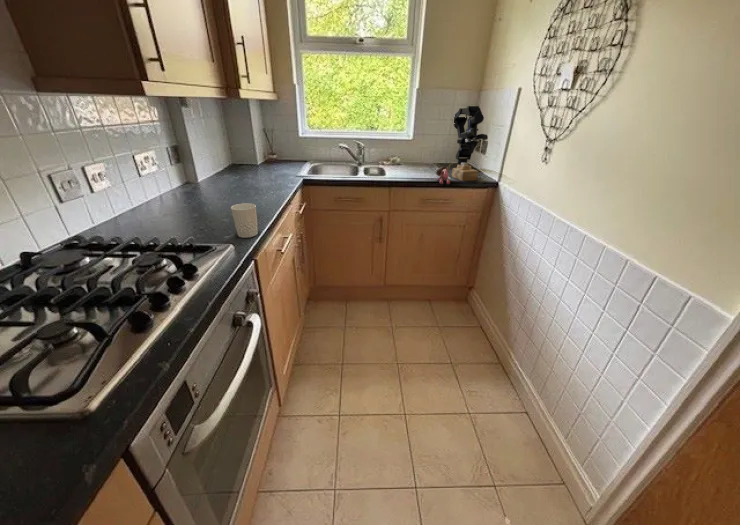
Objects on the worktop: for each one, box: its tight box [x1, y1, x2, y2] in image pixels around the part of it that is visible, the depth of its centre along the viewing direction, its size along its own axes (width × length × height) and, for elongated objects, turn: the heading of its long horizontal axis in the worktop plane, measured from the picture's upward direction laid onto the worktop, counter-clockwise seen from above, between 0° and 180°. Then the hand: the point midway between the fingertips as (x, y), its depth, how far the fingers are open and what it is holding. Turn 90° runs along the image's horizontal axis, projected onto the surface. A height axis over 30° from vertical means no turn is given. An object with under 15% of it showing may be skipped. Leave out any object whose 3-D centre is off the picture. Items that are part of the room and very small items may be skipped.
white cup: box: [230, 202, 259, 239], centre depth 113 cm, size 8×8×10 cm
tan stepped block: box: [451, 164, 479, 182], centre depth 196 cm, size 12×10×7 cm
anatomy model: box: [434, 161, 454, 185], centre depth 186 cm, size 10×14×15 cm
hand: (471, 153), depth 206 cm, fingers closed
